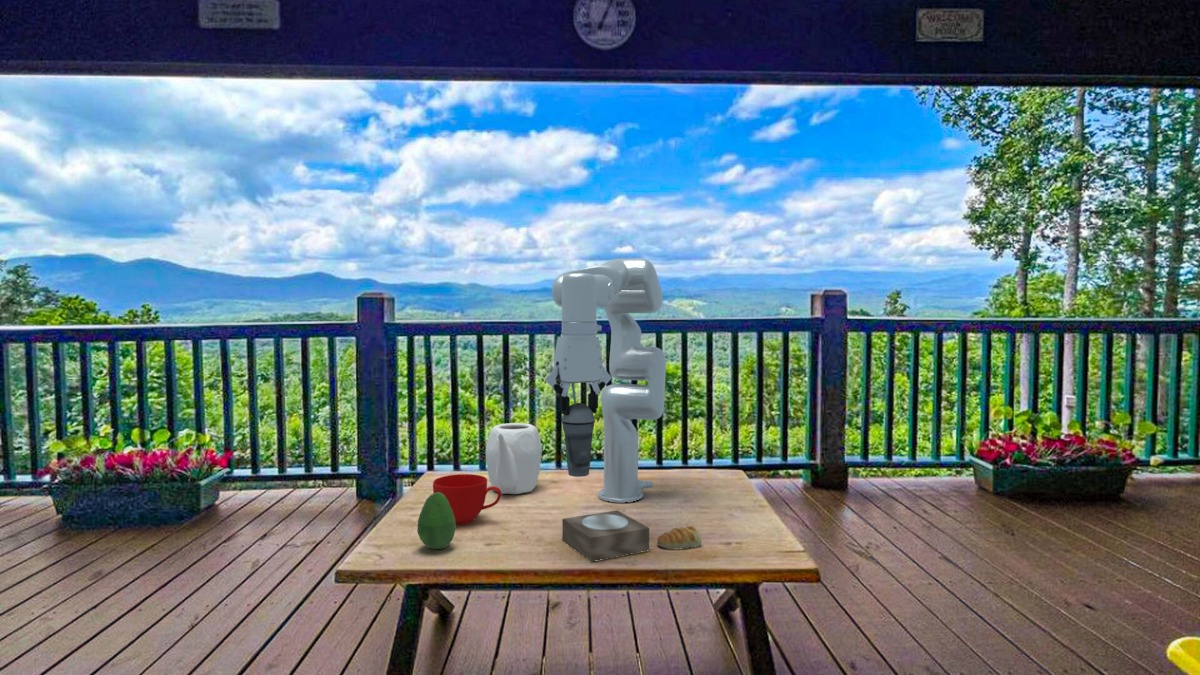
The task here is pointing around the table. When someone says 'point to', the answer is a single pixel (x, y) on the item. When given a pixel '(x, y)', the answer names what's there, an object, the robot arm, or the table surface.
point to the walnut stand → (605, 535)
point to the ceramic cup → (465, 495)
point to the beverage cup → (578, 437)
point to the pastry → (680, 538)
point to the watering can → (513, 457)
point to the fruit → (436, 522)
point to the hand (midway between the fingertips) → (578, 412)
